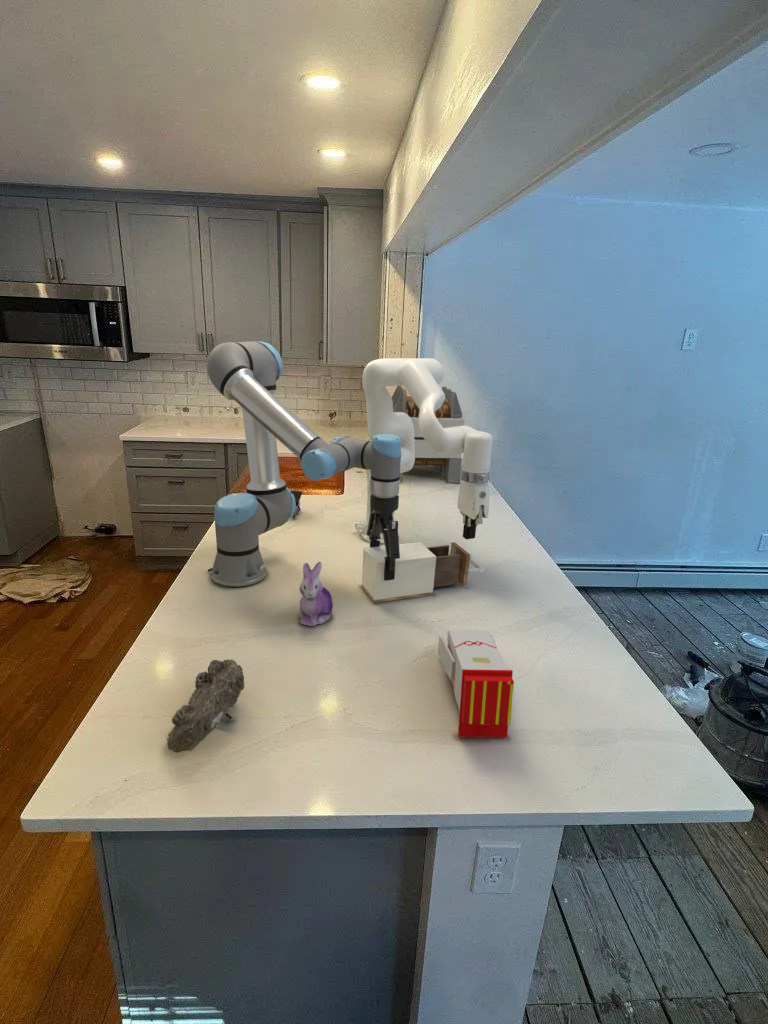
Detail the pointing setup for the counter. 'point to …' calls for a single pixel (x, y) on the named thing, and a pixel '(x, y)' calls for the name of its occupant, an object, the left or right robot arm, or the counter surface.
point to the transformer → (447, 417)
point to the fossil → (206, 705)
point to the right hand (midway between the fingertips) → (468, 537)
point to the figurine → (314, 598)
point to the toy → (478, 682)
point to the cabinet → (399, 573)
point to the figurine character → (297, 501)
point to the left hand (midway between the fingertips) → (381, 570)
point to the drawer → (452, 565)
